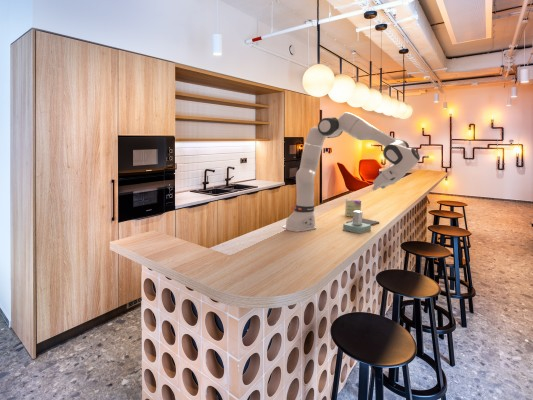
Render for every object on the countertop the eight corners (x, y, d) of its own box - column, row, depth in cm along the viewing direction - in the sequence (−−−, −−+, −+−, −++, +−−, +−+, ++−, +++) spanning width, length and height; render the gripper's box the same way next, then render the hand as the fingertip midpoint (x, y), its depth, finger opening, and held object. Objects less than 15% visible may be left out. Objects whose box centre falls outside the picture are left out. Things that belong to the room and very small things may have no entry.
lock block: (359, 233, 198) (359, 228, 198) (343, 229, 207) (343, 224, 207) (370, 230, 206) (371, 224, 206) (354, 226, 215) (354, 221, 214)
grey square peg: (357, 231, 204) (358, 212, 202) (352, 229, 207) (353, 211, 205) (361, 230, 207) (362, 211, 204) (356, 228, 210) (357, 210, 207)
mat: (364, 227, 212) (364, 226, 212) (346, 223, 222) (346, 222, 222) (379, 223, 223) (379, 221, 223) (361, 219, 234) (361, 218, 234)
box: (359, 215, 248) (359, 199, 245) (360, 216, 242) (361, 200, 240) (345, 214, 249) (345, 199, 246) (346, 216, 243) (346, 200, 241)
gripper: (400, 167, 192) (383, 182, 201) (381, 170, 178) (365, 186, 187) (407, 176, 189) (390, 191, 198) (389, 178, 176) (371, 194, 185)
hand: (377, 188), depth 193 cm, fingers open, 8 cm apart
